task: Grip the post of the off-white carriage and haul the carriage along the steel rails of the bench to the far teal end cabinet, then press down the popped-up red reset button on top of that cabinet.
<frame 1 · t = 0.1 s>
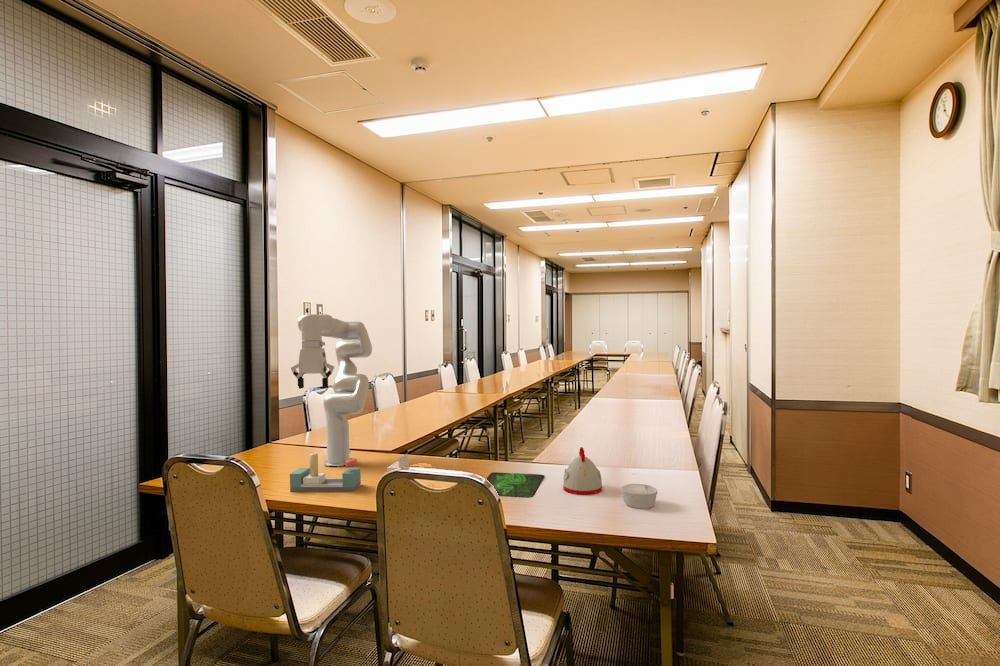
hand: (313, 388, 203), 37 cm above the table, tool pointing down, fingers open, 9 cm apart
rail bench: (326, 487, 192), on the table
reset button: (351, 463, 191), point 9 cm above the table, slide at 0.0 cm
kitchen timer: (582, 489, 183), on the table
mouse mat: (510, 486, 190), on the table
carriage: (314, 468, 192), point 7 cm above the table, slide at 0.0 cm
ramekin: (639, 505, 166), on the table
white angular piece: (398, 498, 179), on the table
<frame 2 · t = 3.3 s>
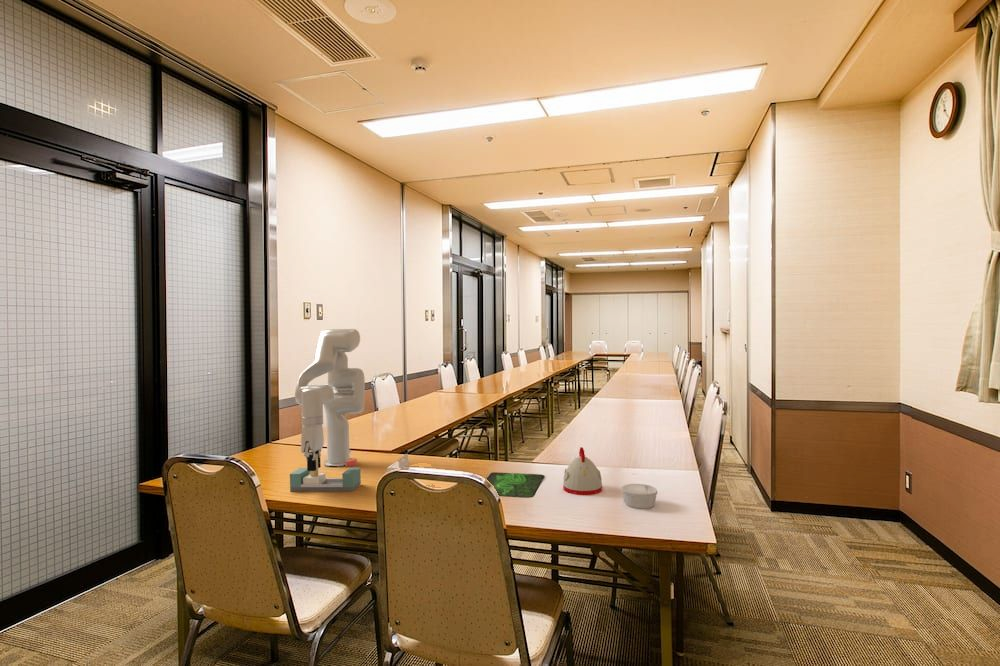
hand: (314, 468, 192), 7 cm above the table, tool pointing down, fingers closed on carriage, 3 cm apart
carriage: (314, 468, 192), point 7 cm above the table, slide at 0.0 cm, touching gripper
everything else where it was.
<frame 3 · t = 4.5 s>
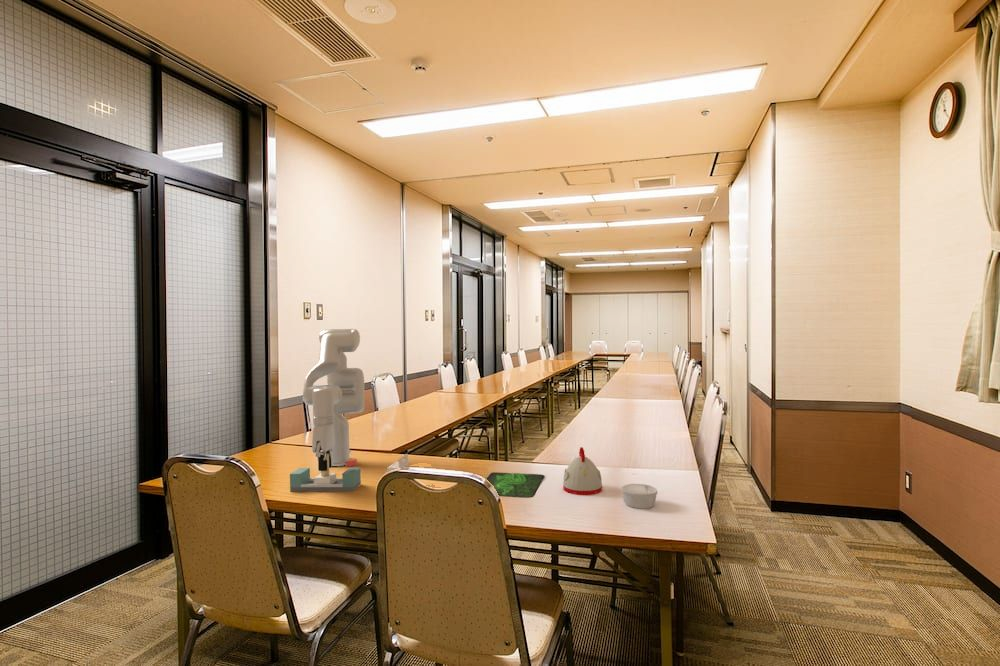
hand: (325, 468, 192), 7 cm above the table, tool pointing down, fingers closed on carriage, 3 cm apart
carriage: (325, 468, 192), point 7 cm above the table, slide at 4.3 cm, touching gripper
everything else where it was.
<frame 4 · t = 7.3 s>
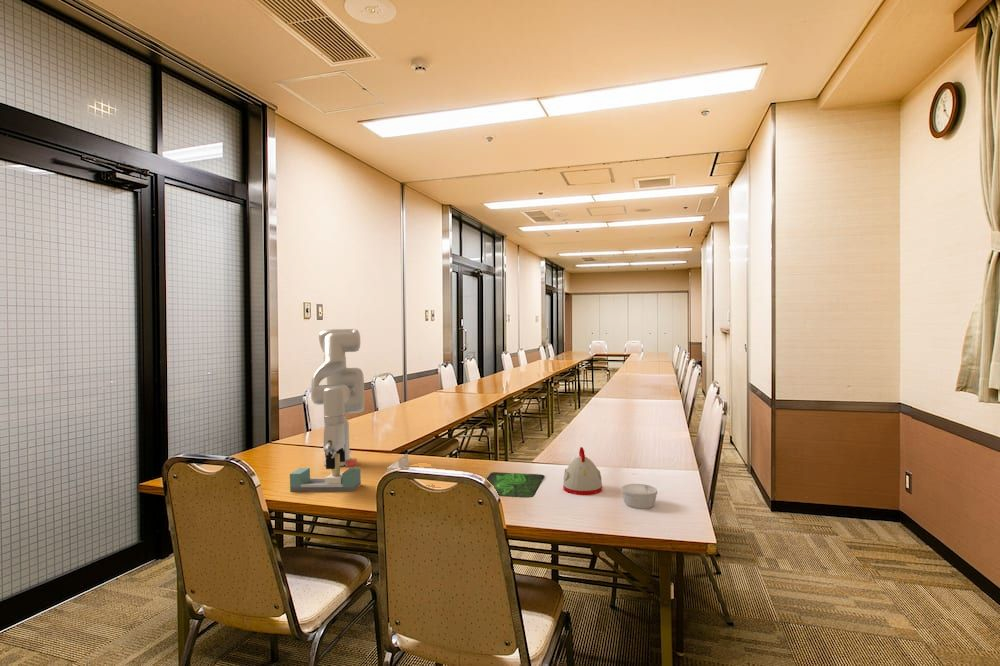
hand: (335, 465, 192), 9 cm above the table, tool pointing down, fingers open, 9 cm apart
carriage: (335, 468, 192), point 7 cm above the table, slide at 8.5 cm
everything else where it was.
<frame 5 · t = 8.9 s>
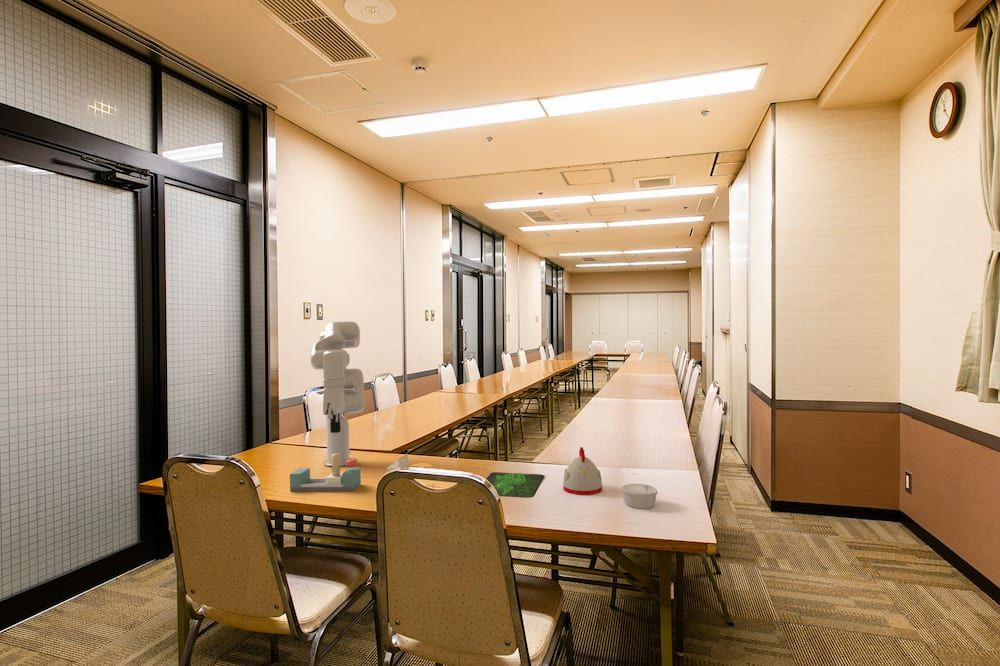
hand: (335, 432, 191), 21 cm above the table, tool pointing down, fingers closed
nothing on the table moved.
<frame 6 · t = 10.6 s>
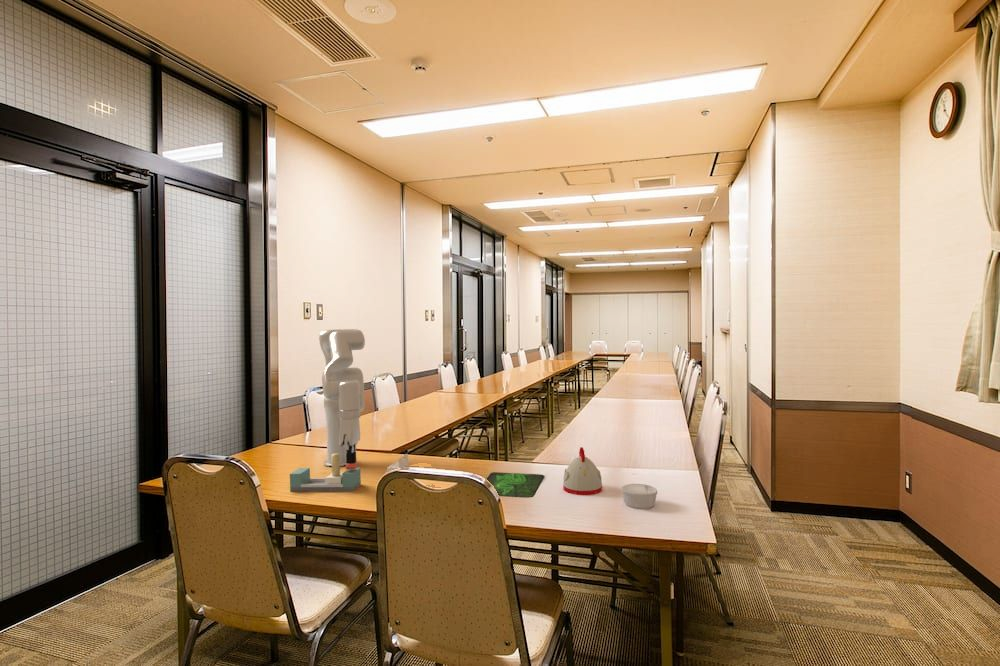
hand: (351, 462, 191), 9 cm above the table, tool pointing down, fingers closed
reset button: (351, 465, 191), point 8 cm above the table, slide at 0.9 cm, touching gripper
everything else where it was.
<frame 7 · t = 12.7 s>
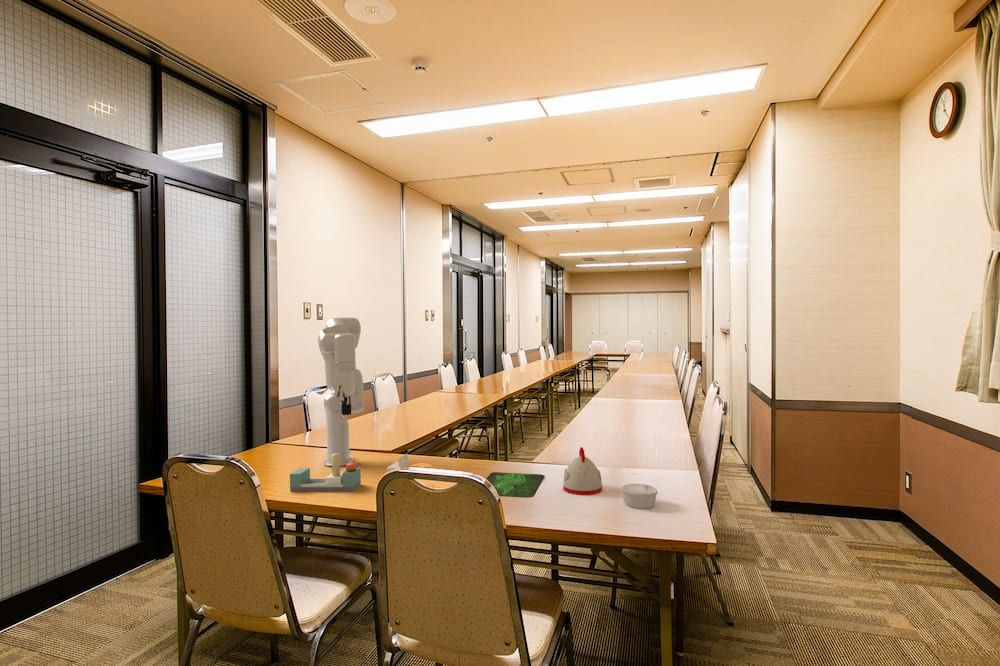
hand: (346, 414, 193), 27 cm above the table, tool pointing down, fingers closed
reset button: (351, 466, 191), point 8 cm above the table, slide at 1.3 cm
everything else where it was.
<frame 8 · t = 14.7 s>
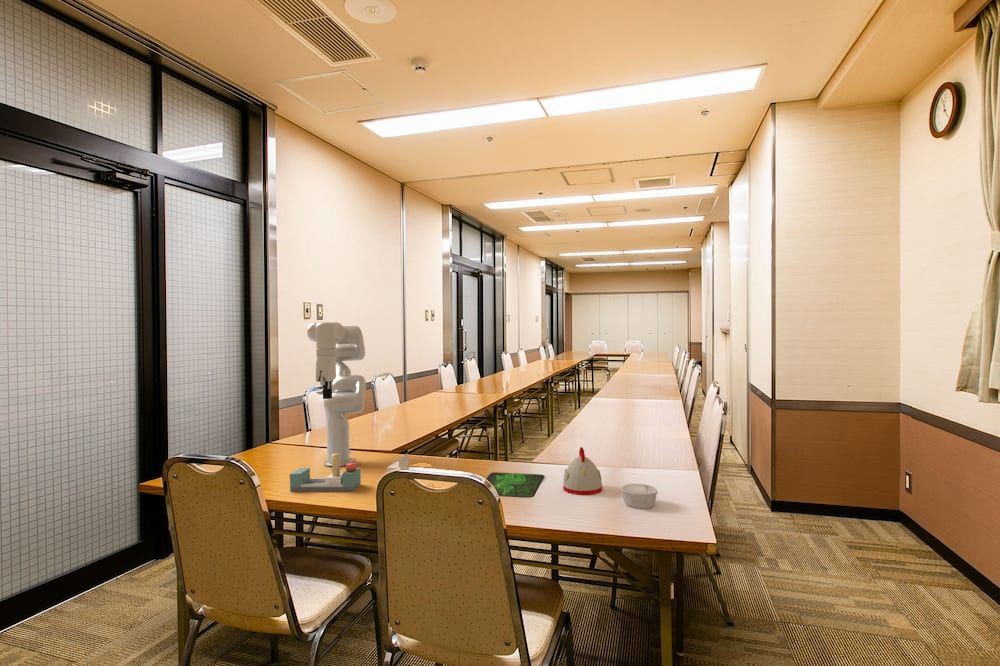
hand: (327, 398, 205), 32 cm above the table, tool pointing down, fingers closed
nothing on the table moved.
at the end: carriage slide at 8.5 cm; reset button slide at 1.3 cm; the gripper is holding nothing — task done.
